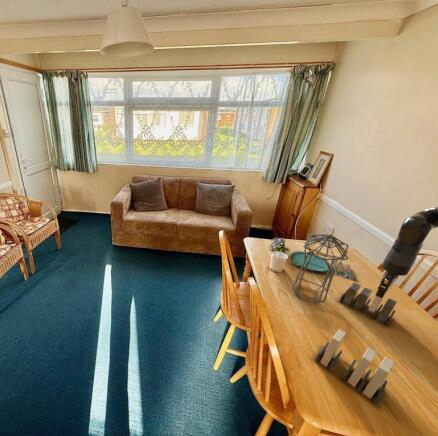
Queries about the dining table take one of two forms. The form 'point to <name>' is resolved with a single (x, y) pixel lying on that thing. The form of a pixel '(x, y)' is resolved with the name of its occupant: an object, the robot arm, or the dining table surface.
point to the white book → (375, 303)
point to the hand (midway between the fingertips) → (381, 293)
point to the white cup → (278, 261)
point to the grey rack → (362, 298)
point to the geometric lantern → (333, 240)
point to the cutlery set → (316, 263)
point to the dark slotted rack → (358, 367)
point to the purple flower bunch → (279, 243)
